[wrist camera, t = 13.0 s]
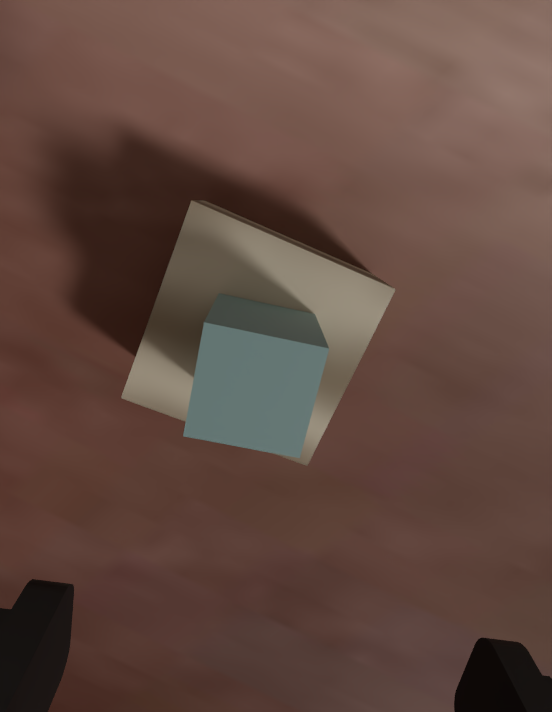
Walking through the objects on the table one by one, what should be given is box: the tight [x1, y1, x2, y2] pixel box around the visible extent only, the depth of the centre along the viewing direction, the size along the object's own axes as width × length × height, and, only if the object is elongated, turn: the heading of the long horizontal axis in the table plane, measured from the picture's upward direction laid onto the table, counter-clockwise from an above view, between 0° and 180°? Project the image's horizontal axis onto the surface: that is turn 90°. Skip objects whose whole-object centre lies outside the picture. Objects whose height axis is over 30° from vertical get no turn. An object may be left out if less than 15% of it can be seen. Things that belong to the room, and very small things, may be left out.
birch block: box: [121, 200, 396, 466], centre depth 28 cm, size 11×11×6 cm
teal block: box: [183, 293, 329, 458], centre depth 22 cm, size 5×5×6 cm
